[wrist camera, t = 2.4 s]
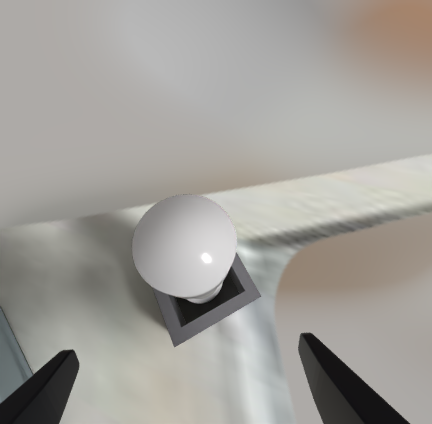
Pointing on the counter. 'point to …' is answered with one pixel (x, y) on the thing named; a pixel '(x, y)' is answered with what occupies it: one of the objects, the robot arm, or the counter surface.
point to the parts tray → (10, 361)
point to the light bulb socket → (185, 331)
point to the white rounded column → (185, 247)
